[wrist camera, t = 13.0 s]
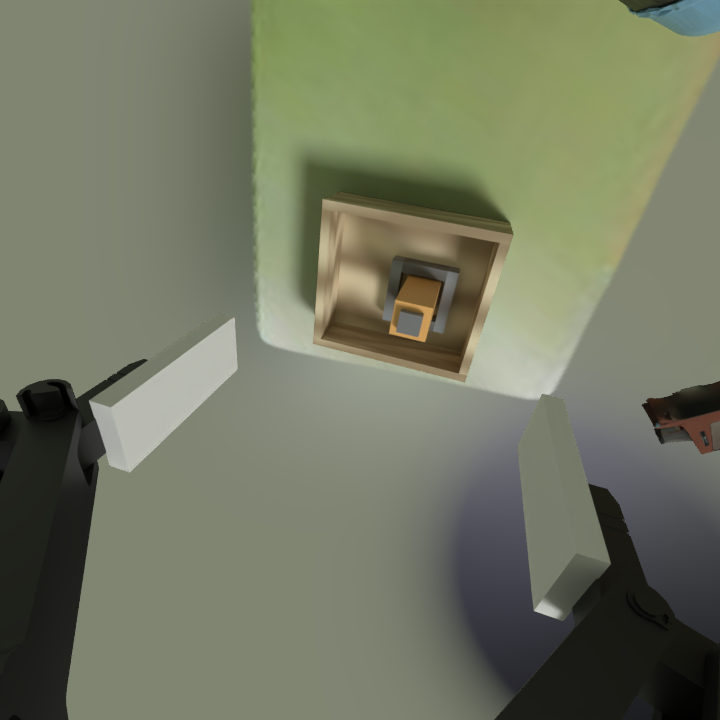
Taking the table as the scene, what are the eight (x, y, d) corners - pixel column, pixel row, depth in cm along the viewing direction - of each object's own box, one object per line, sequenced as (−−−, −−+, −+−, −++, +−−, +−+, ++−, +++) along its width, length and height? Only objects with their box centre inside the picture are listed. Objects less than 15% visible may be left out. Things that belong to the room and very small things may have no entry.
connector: (410, 270, 48) (393, 302, 39) (442, 277, 48) (432, 311, 39) (404, 300, 51) (387, 336, 42) (435, 307, 50) (424, 345, 41)
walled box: (340, 191, 46) (322, 199, 41) (510, 222, 43) (513, 234, 38) (328, 324, 56) (313, 343, 51) (466, 358, 53) (464, 382, 48)
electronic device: (652, 421, 45) (666, 465, 48) (760, 398, 40) (769, 448, 43) (639, 398, 49) (653, 440, 51) (737, 374, 44) (747, 422, 47)
